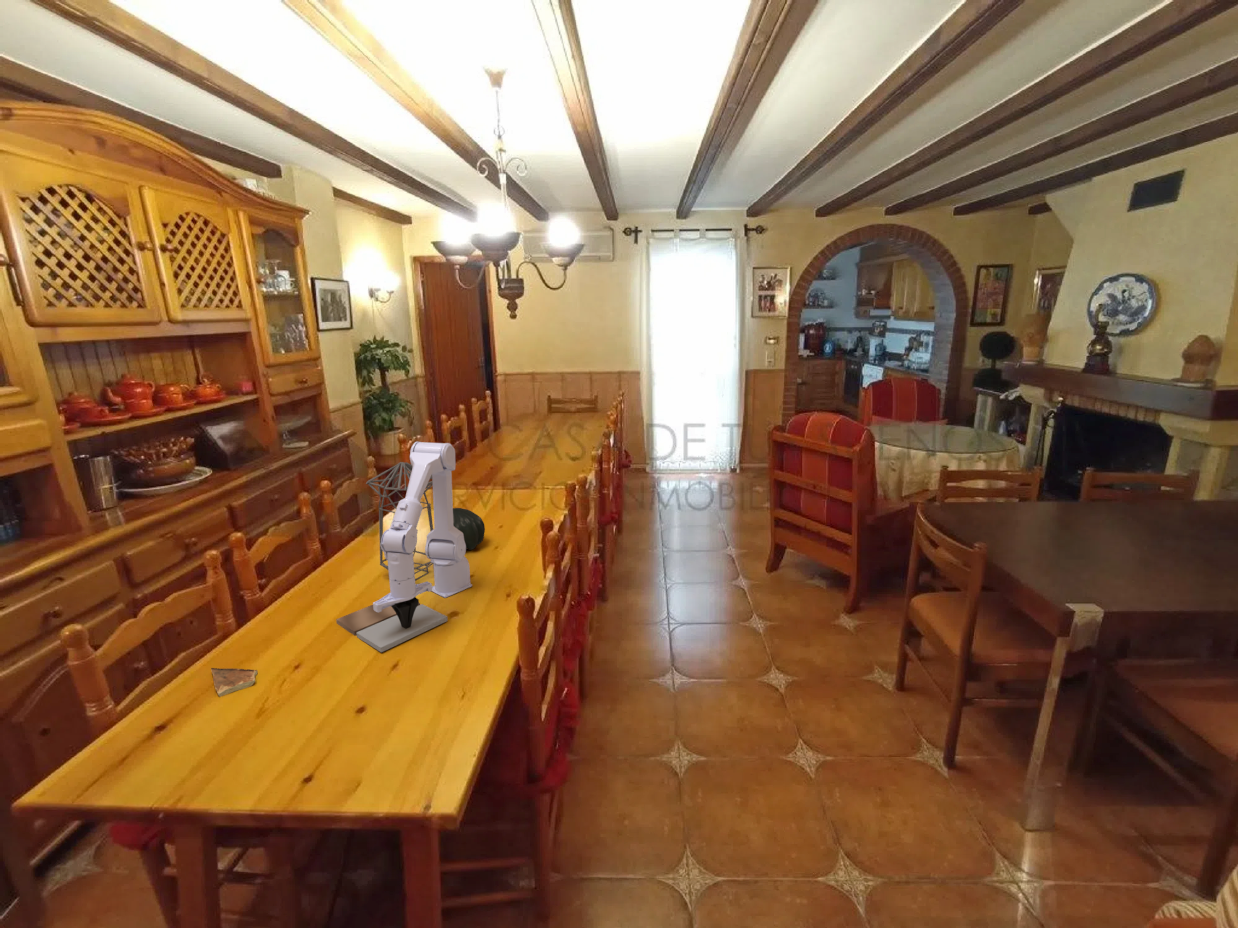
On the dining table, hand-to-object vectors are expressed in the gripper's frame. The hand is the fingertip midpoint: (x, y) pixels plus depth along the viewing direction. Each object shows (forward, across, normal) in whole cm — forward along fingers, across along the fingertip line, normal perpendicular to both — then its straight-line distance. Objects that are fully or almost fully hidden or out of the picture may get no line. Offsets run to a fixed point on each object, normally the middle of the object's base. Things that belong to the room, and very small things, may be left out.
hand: (406, 626), depth 136 cm
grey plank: (+1, 0, -2) cm, 2 cm away
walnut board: (+1, 0, -13) cm, 13 cm away
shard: (+2, +35, -11) cm, 37 cm away
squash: (+2, -42, -33) cm, 54 cm away
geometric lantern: (+2, -19, -28) cm, 34 cm away
